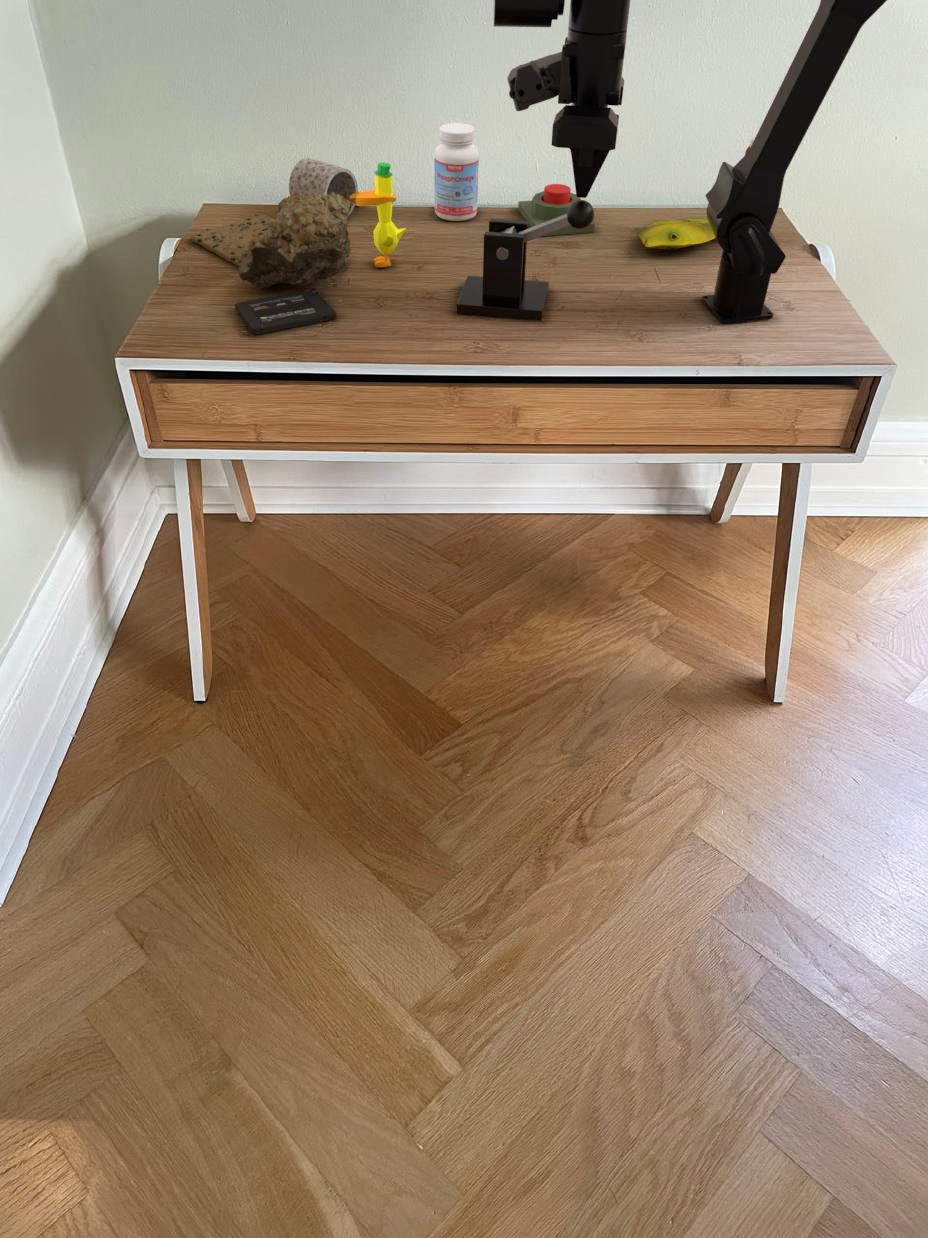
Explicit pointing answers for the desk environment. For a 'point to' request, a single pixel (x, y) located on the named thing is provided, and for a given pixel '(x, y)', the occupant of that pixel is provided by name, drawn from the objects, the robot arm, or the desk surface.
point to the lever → (560, 221)
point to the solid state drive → (284, 311)
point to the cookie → (233, 236)
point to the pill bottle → (456, 173)
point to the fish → (676, 233)
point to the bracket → (504, 278)
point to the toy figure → (381, 213)
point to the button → (557, 194)
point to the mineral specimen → (299, 242)
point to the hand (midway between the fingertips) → (582, 193)
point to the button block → (549, 213)
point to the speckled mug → (322, 180)
